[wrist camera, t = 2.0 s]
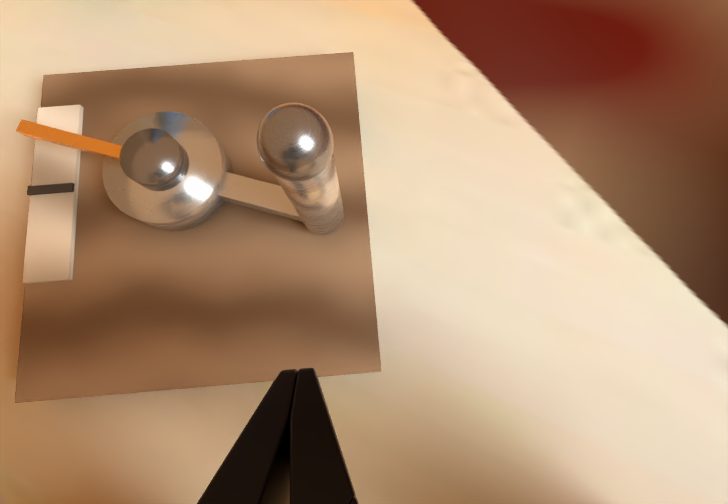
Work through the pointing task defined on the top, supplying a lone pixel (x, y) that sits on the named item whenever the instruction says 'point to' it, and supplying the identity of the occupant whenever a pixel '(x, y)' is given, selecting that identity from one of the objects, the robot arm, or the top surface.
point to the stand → (191, 244)
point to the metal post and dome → (214, 169)
